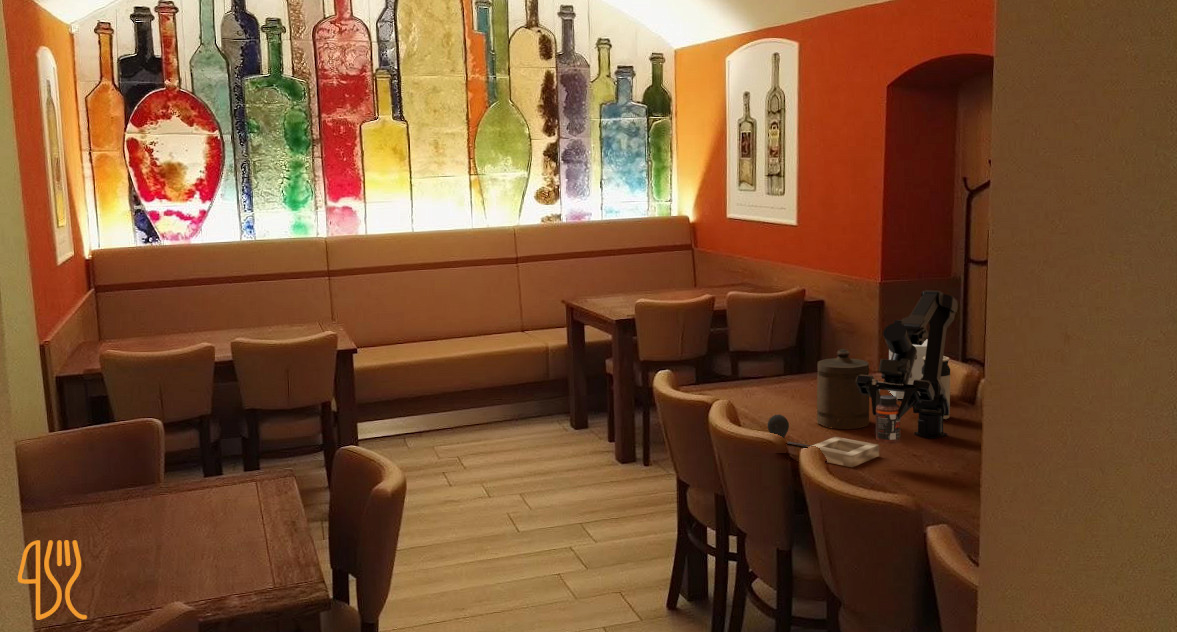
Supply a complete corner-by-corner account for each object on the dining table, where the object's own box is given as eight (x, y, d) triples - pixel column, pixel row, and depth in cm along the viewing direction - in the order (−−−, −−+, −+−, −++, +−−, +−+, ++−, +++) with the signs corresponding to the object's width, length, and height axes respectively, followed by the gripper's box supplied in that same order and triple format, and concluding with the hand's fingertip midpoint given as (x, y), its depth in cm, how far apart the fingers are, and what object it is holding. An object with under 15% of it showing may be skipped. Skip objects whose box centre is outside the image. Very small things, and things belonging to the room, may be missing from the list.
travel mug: (951, 420, 299) (952, 360, 296) (922, 420, 300) (923, 360, 298) (947, 414, 306) (948, 355, 304) (919, 414, 308) (920, 355, 305)
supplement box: (929, 391, 337) (929, 338, 335) (938, 400, 324) (939, 345, 322) (887, 391, 339) (888, 339, 336) (895, 400, 326) (895, 346, 323)
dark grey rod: (824, 450, 273) (824, 447, 273) (823, 451, 272) (823, 448, 272) (783, 443, 281) (783, 440, 281) (782, 444, 280) (782, 441, 280)
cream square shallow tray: (835, 447, 275) (835, 436, 275) (878, 456, 266) (879, 444, 266) (807, 458, 266) (807, 447, 266) (851, 467, 257) (851, 455, 257)
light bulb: (765, 449, 276) (765, 413, 275) (785, 447, 277) (785, 411, 275) (770, 454, 271) (770, 418, 269) (791, 453, 271) (791, 416, 270)
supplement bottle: (900, 444, 252) (900, 400, 251) (875, 443, 254) (875, 399, 253) (900, 438, 258) (901, 394, 256) (876, 437, 260) (876, 393, 258)
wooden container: (851, 415, 310) (851, 343, 306) (879, 426, 296) (879, 351, 292) (807, 420, 305) (807, 347, 302) (834, 432, 291) (834, 356, 288)
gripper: (857, 343, 261) (841, 394, 254) (931, 348, 250) (916, 402, 243) (869, 367, 269) (853, 418, 262) (940, 374, 258) (926, 427, 251)
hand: (886, 416), depth 254 cm, fingers closed on supplement bottle, 6 cm apart
